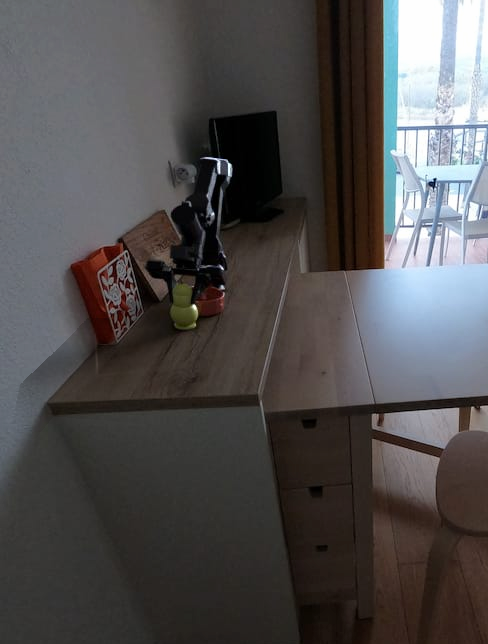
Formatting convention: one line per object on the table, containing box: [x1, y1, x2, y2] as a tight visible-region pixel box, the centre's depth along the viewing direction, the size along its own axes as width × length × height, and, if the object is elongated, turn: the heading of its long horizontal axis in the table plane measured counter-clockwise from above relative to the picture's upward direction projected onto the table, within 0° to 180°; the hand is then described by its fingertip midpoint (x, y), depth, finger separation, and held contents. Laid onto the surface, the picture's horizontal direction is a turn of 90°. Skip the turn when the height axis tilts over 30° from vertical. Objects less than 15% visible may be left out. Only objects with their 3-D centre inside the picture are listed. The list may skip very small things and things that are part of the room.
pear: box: [169, 278, 199, 331], centre depth 115 cm, size 7×7×12 cm
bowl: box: [190, 285, 226, 317], centre depth 127 cm, size 12×12×4 cm
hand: (181, 303), depth 114 cm, fingers closed on pear, 4 cm apart
